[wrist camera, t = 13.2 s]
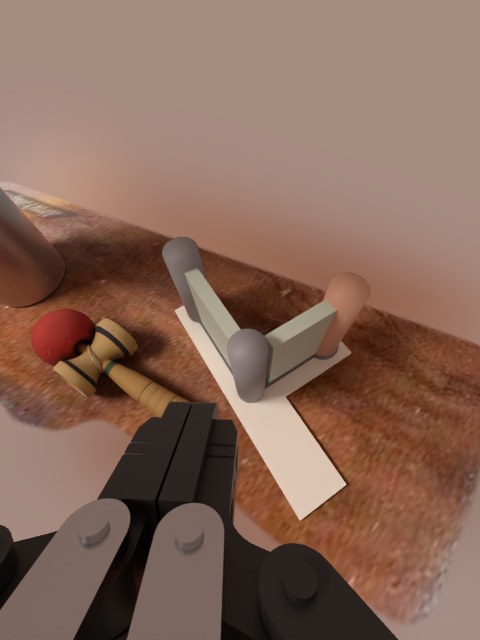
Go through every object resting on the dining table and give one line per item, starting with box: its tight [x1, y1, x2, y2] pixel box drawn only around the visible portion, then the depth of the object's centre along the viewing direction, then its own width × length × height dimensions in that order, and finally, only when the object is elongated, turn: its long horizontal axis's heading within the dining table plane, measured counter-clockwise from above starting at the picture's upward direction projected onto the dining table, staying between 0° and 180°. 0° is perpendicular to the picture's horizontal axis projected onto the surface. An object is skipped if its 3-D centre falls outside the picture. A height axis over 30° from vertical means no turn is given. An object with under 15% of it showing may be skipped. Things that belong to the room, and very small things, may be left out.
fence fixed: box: [162, 237, 268, 403], centre depth 27 cm, size 13×3×11 cm, turn 32°
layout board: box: [174, 306, 351, 520], centre depth 31 cm, size 24×14×1 cm, turn 32°
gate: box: [264, 273, 370, 383], centre depth 26 cm, size 9×3×10 cm, turn 121°
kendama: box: [31, 309, 189, 418], centre depth 30 cm, size 8×6×18 cm
